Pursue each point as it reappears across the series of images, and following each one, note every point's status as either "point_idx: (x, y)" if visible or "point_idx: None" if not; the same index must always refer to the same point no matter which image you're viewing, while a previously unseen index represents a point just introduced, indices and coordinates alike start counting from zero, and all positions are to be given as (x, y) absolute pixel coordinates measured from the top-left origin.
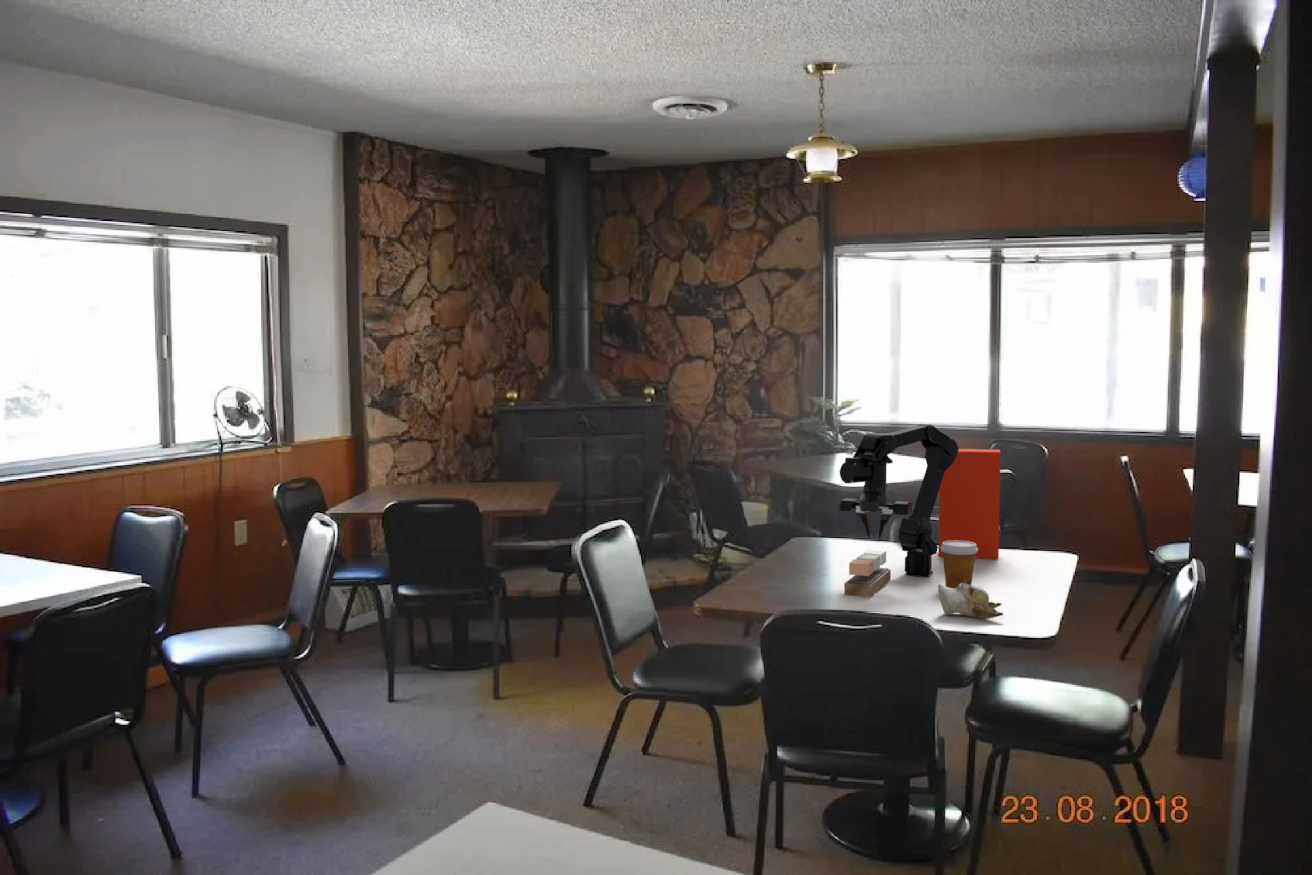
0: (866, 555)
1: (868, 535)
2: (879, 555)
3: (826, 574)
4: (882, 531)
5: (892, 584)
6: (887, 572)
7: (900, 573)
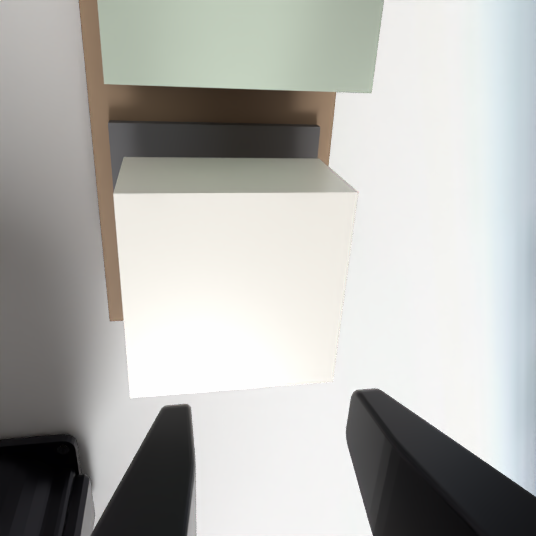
0: (294, 35)
1: (391, 408)
2: (147, 189)
3: (528, 275)
4: (103, 512)
5: (58, 164)
6: (100, 218)
7: (122, 467)
